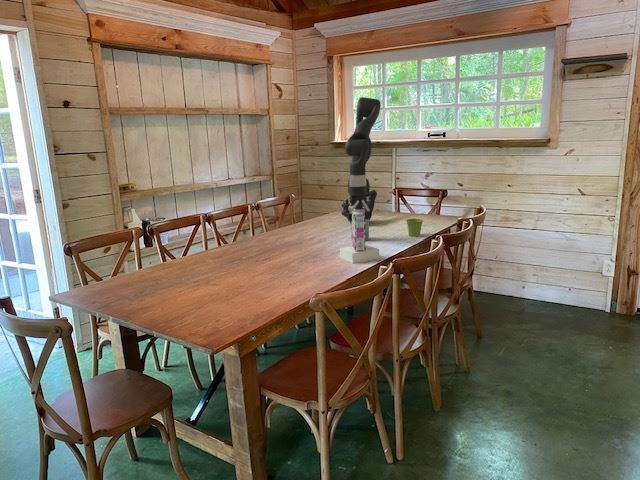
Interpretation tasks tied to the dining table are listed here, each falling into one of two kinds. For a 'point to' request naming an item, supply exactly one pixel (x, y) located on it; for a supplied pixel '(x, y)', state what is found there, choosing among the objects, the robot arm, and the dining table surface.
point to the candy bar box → (358, 231)
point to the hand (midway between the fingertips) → (358, 220)
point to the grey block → (359, 254)
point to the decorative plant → (373, 195)
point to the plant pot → (414, 226)
